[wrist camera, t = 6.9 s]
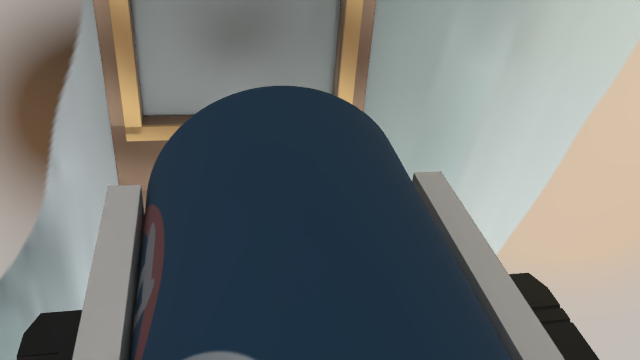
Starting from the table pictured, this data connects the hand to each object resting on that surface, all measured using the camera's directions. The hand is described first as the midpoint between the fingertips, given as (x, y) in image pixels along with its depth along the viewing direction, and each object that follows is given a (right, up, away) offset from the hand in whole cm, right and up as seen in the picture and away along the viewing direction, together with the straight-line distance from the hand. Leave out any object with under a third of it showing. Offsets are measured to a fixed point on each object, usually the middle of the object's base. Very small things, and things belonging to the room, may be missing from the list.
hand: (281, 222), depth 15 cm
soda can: (0, +1, +2) cm, 2 cm away
